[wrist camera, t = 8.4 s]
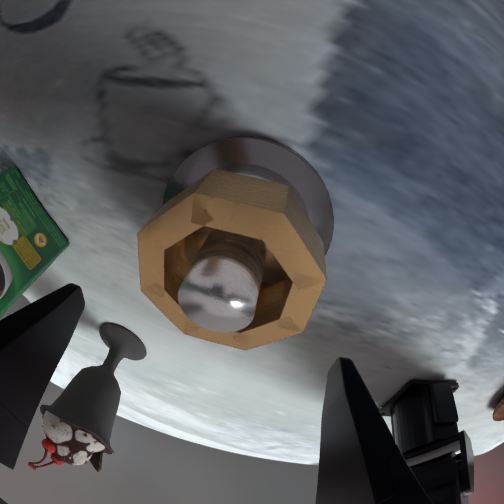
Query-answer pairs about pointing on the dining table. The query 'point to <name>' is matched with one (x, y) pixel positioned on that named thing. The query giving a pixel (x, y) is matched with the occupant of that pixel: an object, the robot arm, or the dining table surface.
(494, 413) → the cup and saucer
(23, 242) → the coffee box
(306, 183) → the silver flanged knob
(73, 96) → the dining table surface
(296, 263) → the ring
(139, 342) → the sundae
